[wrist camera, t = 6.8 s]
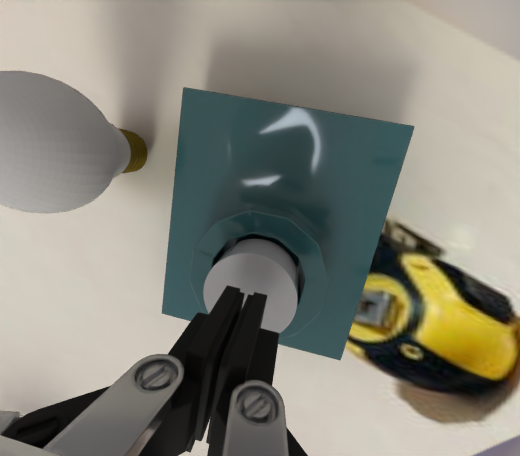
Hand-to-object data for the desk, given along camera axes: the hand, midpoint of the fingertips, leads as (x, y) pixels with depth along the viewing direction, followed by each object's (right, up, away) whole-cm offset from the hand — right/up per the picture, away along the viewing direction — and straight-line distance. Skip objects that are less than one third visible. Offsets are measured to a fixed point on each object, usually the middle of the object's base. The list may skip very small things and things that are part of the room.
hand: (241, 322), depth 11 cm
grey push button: (+1, +1, +4) cm, 4 cm away
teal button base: (+2, +4, +8) cm, 9 cm away
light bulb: (-8, +9, +8) cm, 15 cm away
